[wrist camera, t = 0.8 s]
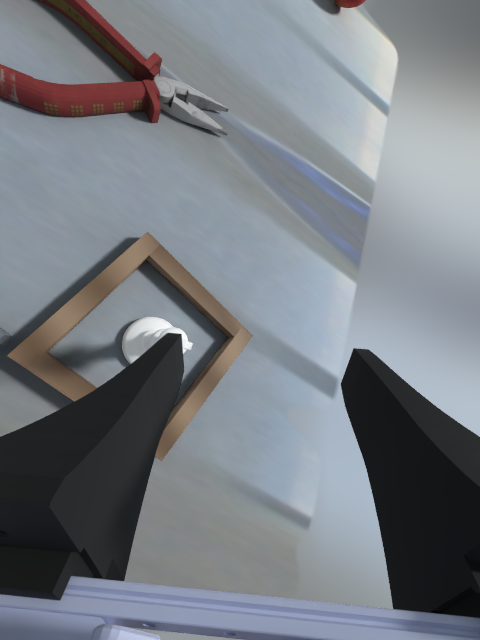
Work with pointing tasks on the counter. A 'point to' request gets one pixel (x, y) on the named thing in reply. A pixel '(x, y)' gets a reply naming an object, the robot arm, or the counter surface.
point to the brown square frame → (75, 310)
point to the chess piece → (148, 336)
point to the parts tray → (4, 336)
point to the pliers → (110, 97)
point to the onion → (349, 3)
